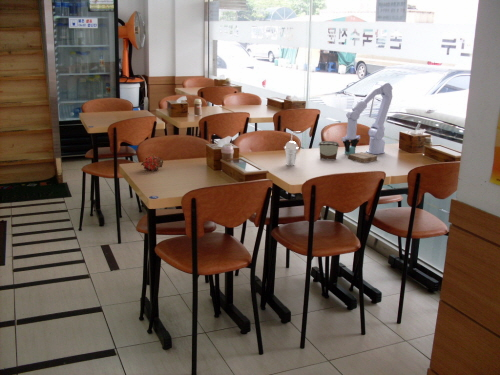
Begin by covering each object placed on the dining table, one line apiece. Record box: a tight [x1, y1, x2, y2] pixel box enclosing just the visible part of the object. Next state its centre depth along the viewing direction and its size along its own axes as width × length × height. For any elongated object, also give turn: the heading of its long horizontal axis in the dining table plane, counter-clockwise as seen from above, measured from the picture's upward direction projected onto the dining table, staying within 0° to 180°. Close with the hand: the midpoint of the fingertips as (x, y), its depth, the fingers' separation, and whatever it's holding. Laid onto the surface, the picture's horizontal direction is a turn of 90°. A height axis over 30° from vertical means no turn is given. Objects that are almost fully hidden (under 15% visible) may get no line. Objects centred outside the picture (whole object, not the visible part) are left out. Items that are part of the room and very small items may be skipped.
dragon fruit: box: [140, 155, 164, 172], centre depth 288 cm, size 8×8×12 cm
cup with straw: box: [283, 130, 302, 166], centre depth 303 cm, size 8×9×20 cm
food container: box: [318, 140, 340, 161], centre depth 323 cm, size 12×6×10 cm, turn 84°
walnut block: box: [347, 151, 378, 164], centre depth 323 cm, size 12×12×3 cm
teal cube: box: [344, 145, 357, 156], centre depth 336 cm, size 4×4×4 cm
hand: (350, 151), depth 336 cm, fingers closed on teal cube, 4 cm apart
